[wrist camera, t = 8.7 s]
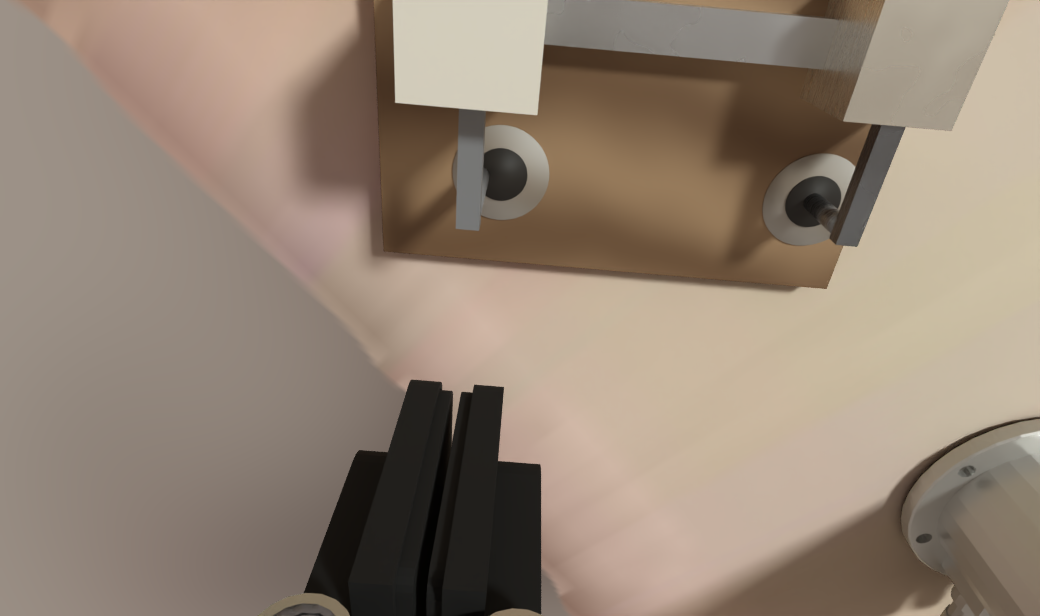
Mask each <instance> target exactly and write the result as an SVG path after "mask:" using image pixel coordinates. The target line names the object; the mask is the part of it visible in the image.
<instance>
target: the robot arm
mask: <svg viewBox="0 0 1040 616" xmlns="http://www.w3.org/2000/svg"><path fill="white" fill-rule="evenodd" d="M503 392H504V387H496V386H483V385H474V388H473V393H470V392H462V393H461V397H460V402H459V408H458V413H457V419H456V424H455V430H454V435H453V441H452V407H453V392H452V391H445V390H442V383H441V382H434V381H421V380H411V381H410V383H409V386H408V389H407V392H406V395H405V399H404V402H403V405H402V409H401V412H400V415H399V418H398V421H397V425H396V428H395V431H394V435H393V438H392V441H391V444H390V448H389V451H388V452H375V451H363V450H359V451H358V452H357V454H356V456H355V458H354V460H353V462H352V465H351V467H350V470H349V473H348V476H347V478H346V481H345V484H344V487H343V489H342V492H341V494H340V497H339V500H338V502H337V505H336V508H335V510H334V513H333V516H332V519H331V521H330V524H329V527H328V530H327V532H326V535H325V537H324V540H323V543H322V545H321V548H320V551H319V554H318V556H317V559H316V562H315V564H314V567H313V570H312V573H311V575H310V578H309V581H308V583H307V586H306V588H305V591H304V593H303V594H298V595H293V596H289V597H286V598H284V599H282V600H280V601H278V602H276V603H274V604H272V605H270V606H269V607H268V608H267V609H265V610H264V611H263V612H262V613H260V614H259V615H258V616H543V615H541V466H540V464H527V463H515V462H502V461H498V453H499V441H500V428H501V416H502V404H503ZM451 444H452V447H451ZM901 526H902V533H903V535H904V537H905V539H906V541H907V542H908V544H909V546H910V547H911V549H912V550H913V552H914V553H915V555H916V556H917V557H918V559H919V560H920V561H921V562H923V563H924V564H925V565H927V566H928V567H929V568H931V569H933V570H935V571H937V572H939V573H941V574H944V575H947V576H949V577H950V579H951V580H952V582H953V583H954V586H953V588H952V589H951V597H952V599H953V602H952V603H951V604H949V605H948V606H947V607H946V608H945V610H944V611H943V612H942V614H941V615H940V616H1040V419H1035V420H1029V421H1022V422H1018V423H1015V424H1011V425H1008V426H1004V427H1000V428H997V429H994V430H992V431H989V432H987V433H985V434H982V435H980V436H977V437H975V438H973V439H971V440H969V441H967V442H965V443H964V444H962V445H960V446H958V447H956V448H955V449H953V450H951V451H950V452H949V453H947V454H946V455H944V456H943V457H942V458H940V459H939V460H938V461H936V462H935V463H934V464H933V465H932V466H931V467H930V468H929V469H928V470H927V471H926V472H925V473H924V474H922V475H921V476H920V478H919V479H918V481H917V482H916V483H915V485H914V486H913V487H912V489H911V490H910V492H909V494H908V496H907V498H906V500H905V503H904V505H903V508H902V515H901Z"/></svg>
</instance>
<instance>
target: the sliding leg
mask: <svg viewBox="0 0 1040 616" xmlns="http://www.w3.org/2000/svg"><path fill="white" fill-rule="evenodd" d="M547 5H548V0H393V33H394V72H395V103H403V104H415V105H426V106H437V107H449V108H459V125H458V162H457V200H456V229H463V230H475V231H479V229H480V224H481V212H482V208H483V203H484V199H485V195H486V190H487V186H488V181H489V172H488V171H487V169H485V168H484V167H483V163H484V143H485V123H486V111H494V112H505V113H516V114H528V115H537V113H538V102H539V92H540V81H541V70H542V59H543V48H544V37H545V27H546V16H547Z"/></svg>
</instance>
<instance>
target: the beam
mask: <svg viewBox="0 0 1040 616" xmlns="http://www.w3.org/2000/svg"><path fill="white" fill-rule="evenodd" d="M1008 2H1009V0H829V3H828V7H827V10H826V13H825V16H824V17H822V16H811V15H800V14H789V13H778V12H767V11H756V10H745V9H735V8H724V7H713V6H702V5H691V4H680V3H669V2H658V1H647V0H548V5H547V16H546V27H545V37H544V44H546V45H557V46H568V47H579V48H590V49H601V50H612V51H623V52H634V53H646V54H657V55H668V56H679V57H690V58H701V59H712V60H723V61H734V62H745V63H756V64H767V65H778V66H789V67H800V68H809V69H808V72H807V75H806V78H805V82H804V85H803V88H802V91H801V95H800V98H801V99H803V100H805V101H807V102H808V103H810V104H812V105H814V106H816V107H818V108H819V109H821V110H823V111H825V112H827V113H829V114H830V115H832V116H834V117H836V118H838V119H840V120H841V121H844V122H856V123H867V124H872V125H871V127H870V130H869V133H868V135H867V138H866V141H865V143H864V146H863V149H862V151H861V154H860V157H859V159H858V162H857V165H856V167H855V170H854V173H853V175H852V178H851V181H850V183H849V186H848V189H847V192H846V194H845V197H844V200H843V202H842V205H841V208H840V210H838V209H837V208H836V207H835V206H833V205H832V204H831V203H830V202H829V201H828V200H826V199H825V198H824V197H823V196H822V195H820V194H818V193H814V194H811V195H809V196H808V197H807V198H806V199H805V200H804V204H803V205H804V208H805V210H807V211H808V212H809V213H810V214H811V215H812V216H813V217H814V218H815V219H816V220H817V221H818V222H819V223H820V224H821V225H822V226H823V227H824V228H825V229H826V230H827V231H829V232H830V233H831V234H830V237H829V239H830V240H831V241H832V242H833V243H834V244H835V245H843V246H855V247H857V246H858V244H859V241H860V239H861V236H862V234H863V231H864V229H865V226H866V224H867V221H868V219H869V216H870V214H871V211H872V209H873V206H874V204H875V202H876V199H877V197H878V194H879V192H880V189H881V187H882V184H883V182H884V179H885V177H886V174H887V172H888V169H889V167H890V164H891V162H892V159H893V157H894V154H895V152H896V149H897V147H898V145H899V142H900V140H901V137H902V135H903V132H904V130H905V127H912V128H923V129H934V130H945V131H952V128H953V126H954V124H955V122H956V119H957V117H958V115H959V113H960V110H961V108H962V106H963V104H964V101H965V99H966V97H967V95H968V92H969V90H970V88H971V85H972V83H973V81H974V79H975V76H976V74H977V72H978V70H979V67H980V65H981V63H982V61H983V58H984V56H985V54H986V52H987V49H988V47H989V45H990V43H991V40H992V38H993V36H994V34H995V31H996V29H997V27H998V25H999V22H1000V20H1001V18H1002V16H1003V13H1004V11H1005V9H1006V7H1007V4H1008Z"/></svg>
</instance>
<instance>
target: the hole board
mask: <svg viewBox="0 0 1040 616" xmlns="http://www.w3.org/2000/svg"><path fill="white" fill-rule="evenodd" d="M647 1H658V2H669V3H680V4H691V5H702V6H713V7H724V8H735V9H745V10H756V11H767V12H778V13H789V14H800V15H811V16H822V17H824V16H825V13H826V10H827V7H828V3H829V0H647ZM373 2H374V26H375V51H376V76H377V100H378V125H379V150H380V174H381V199H382V224H383V248H384V251H385V252H397V253H409V254H421V255H433V256H445V257H456V258H468V259H480V260H492V261H504V262H515V263H527V264H539V265H551V266H563V267H574V268H586V269H598V270H610V271H622V272H634V273H645V274H657V275H669V276H681V277H693V278H704V279H716V280H728V281H740V282H752V283H764V284H775V285H787V286H799V287H811V288H823V289H827V286H828V284H829V281H830V279H831V276H832V273H833V271H834V268H835V266H836V263H837V261H838V258H839V255H840V253H841V250H842V248H843V245H835V244H834V243H833V242H832V241H831V240H830V239H829V237H830V234H831V233H830V232H829V231H827V230H826V229H825V228H824V227H823V226H822V225H821V224H820V223H819V222H818V221H817V220H816V219H815V218H814V217H813V216H812V215H811V214H810V213H809V212H808V211H807V210H805V208H804V205H803V204H804V200H805V199H806V198H807V197H808V196H809V195H811V194H814V193H818V194H820V195H822V196H823V197H824V198H825V199H826V200H828V201H829V202H830V203H831V204H832V205H833V206H835V207H836V208H837V209H838V210H840V208H841V205H842V202H843V200H844V197H845V194H846V192H847V189H848V186H849V183H850V181H851V178H852V175H853V173H854V170H855V167H856V165H857V162H858V159H859V157H860V154H861V151H862V149H863V146H864V143H865V141H866V138H867V135H868V133H869V130H870V127H871V125H872V124H867V123H856V122H844V121H841V120H840V119H838V118H836V117H834V116H832V115H830V114H829V113H827V112H825V111H823V110H821V109H819V108H818V107H816V106H814V105H812V104H810V103H808V102H807V101H805V100H803V99H801V98H800V95H801V91H802V88H803V85H804V82H805V78H806V75H807V72H808V69H809V68H800V67H789V66H778V65H767V64H756V63H745V62H734V61H723V60H712V59H701V58H690V57H679V56H668V55H657V54H646V53H634V52H623V51H612V50H601V49H590V48H579V47H568V46H557V45H546V44H544V48H543V59H542V70H541V81H540V92H539V102H538V113H537V115H528V114H516V113H505V112H494V111H486V123H485V143H484V163H483V167H484V168H485V169H487V171H488V172H489V181H488V186H487V190H486V195H485V199H484V203H483V208H482V212H481V224H480V229H479V231H475V230H463V229H456V200H457V162H458V125H459V108H449V107H437V106H426V105H415V104H403V103H395V72H394V33H393V0H373Z"/></svg>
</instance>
